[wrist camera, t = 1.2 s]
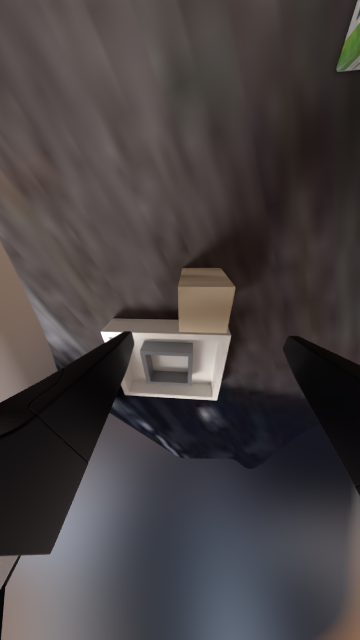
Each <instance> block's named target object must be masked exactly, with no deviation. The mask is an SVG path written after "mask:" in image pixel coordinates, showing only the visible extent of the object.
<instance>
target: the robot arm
mask: <svg viewBox="0 0 360 640" xmlns="http://www.w3.org/2000/svg"><path fill="white" fill-rule="evenodd" d="M133 348H134V339H133V335H132V332H131V331H124V332H122V333H120V334H119V335H117V336H115V337H114V338H112V339H110V340H109V341H107V342H105V343H104V344H102V345H100V346H99V347H97V348H95V349H94V350H92V351H90V352H89V353H87V354H85V355H84V356H82V357H80V358H79V359H77V360H75V361H74V362H72V363H70V364H69V365H67V366H65V368H62V369H60V370H58V371H57V372H55V373H53V374H52V375H50V376H49V377H47V378H45V379H43V380H41V381H40V382H38V383H36V384H34V385H32V386H30V387H29V388H27V389H25V390H23V391H21V392H19V393H17V394H16V395H14V396H12V397H10V398H8V399H6V400H4V401H2V402H1V403H0V640H1V631H2V619H3V607H4V595H5V587H6V585H7V582H8V581H9V579H10V577H11V575H12V572H13V571H14V569H15V567H16V565H17V563H18V561H19V559H20V556H21V555H46V554H50V553H51V551H52V549H53V547H54V545H55V542H56V540H57V538H58V535H59V533H60V530H61V528H62V526H63V523H64V521H65V518H66V516H67V514H68V511H69V509H70V506H71V504H72V501H73V499H74V497H75V494H76V492H77V489H78V487H79V485H80V482H81V480H82V477H83V475H84V473H85V470H86V468H87V465H88V462H89V460H90V458H91V455H92V453H93V450H94V448H95V446H96V443H97V441H98V438H99V436H100V434H101V431H102V429H103V426H104V424H105V422H106V419H107V417H108V414H109V412H110V409H111V407H112V405H113V402H114V400H115V397H116V395H117V393H118V390H119V388H120V385H121V383H122V381H123V378H124V376H125V373H126V371H127V368H128V365H129V362H130V358H131V355H132V351H133ZM283 351H284V354H285V356H286V359H287V361H288V363H289V366H290V368H291V370H292V373H293V375H294V377H295V379H296V381H297V382H298V384H299V386H300V388H301V390H302V392H303V393H304V395H305V397H306V399H307V401H308V402H309V404H310V406H311V408H312V410H313V411H314V413H315V415H316V417H317V419H318V420H319V422H320V424H321V426H322V428H323V430H324V431H325V433H326V435H327V437H328V439H329V440H330V442H331V444H332V446H333V448H334V449H335V451H336V453H337V455H338V457H339V459H340V460H341V462H342V464H343V466H344V468H345V469H346V471H347V473H348V475H349V477H350V478H351V480H352V482H353V484H354V485H355V488H356V489H357V491H358V493H359V495H360V365H358V364H356V363H354V362H352V361H350V360H348V359H345V358H343V357H341V356H339V355H337V354H335V353H333V352H331V351H329V350H326V349H324V348H322V347H320V346H318V345H316V344H314V343H312V342H310V341H307V340H305V339H303V338H301V337H299V336H289V337H288V338H287V340H286V342H285V344H284V346H283Z"/></svg>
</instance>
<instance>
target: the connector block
mask: <svg viewBox="0 0 360 640" xmlns="http://www.w3.org/2000/svg"><path fill="white" fill-rule="evenodd" d="M235 288H236V287H235V286H234V284H233V283H232V282H231V281H230V279H229V278H228V277H227V275H226V274H225V273H224V272H223V270H222V269H221V268H182V272H181V276H180V280H179V284H178V310H179V332H199V333H227V328H228V323H229V318H230V313H231V308H232V303H233V298H234V293H235Z"/></svg>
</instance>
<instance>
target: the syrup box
mask: <svg viewBox="0 0 360 640" xmlns="http://www.w3.org/2000/svg"><path fill="white" fill-rule="evenodd" d="M351 70H360V0H358V1H357V4H356V7H355V10H354V14H353V17H352V20H351V23H350V26H349V30H348V33H347V36H346V39H345V43H344V46H343V49H342V52H341V56H340V59H339V62H338V64H337V72H341V71H351Z"/></svg>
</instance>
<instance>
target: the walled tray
mask: <svg viewBox="0 0 360 640" xmlns="http://www.w3.org/2000/svg"><path fill="white" fill-rule="evenodd" d="M124 331H131V332H132V335H133V339H134V348H133V351H132V355H131V358H130V362H129V365H128V368H127V371H126V373H125V376H124V378H123V381H122V383H121V386H122V388H123V391H124V394H125V395H136V396H152V397H169V398H185V399H202V400H217V398H218V393H219V389H220V384H221V380H222V375H223V371H224V366H225V362H226V357H227V353H228V348H229V344H230V339H231V333H230V331H229V328H227V333H199V332H179V320H161V319H118V318H112V320H111V321H110V322H109V323H108V324H107V325H106V326H105V327H104V328H103V329H102V331H101V334H102V337H103V339H104V342H107V341H109V340H110V339H112V338H114V337H115V336H117V335H119V334H120V333H122V332H124Z"/></svg>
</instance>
